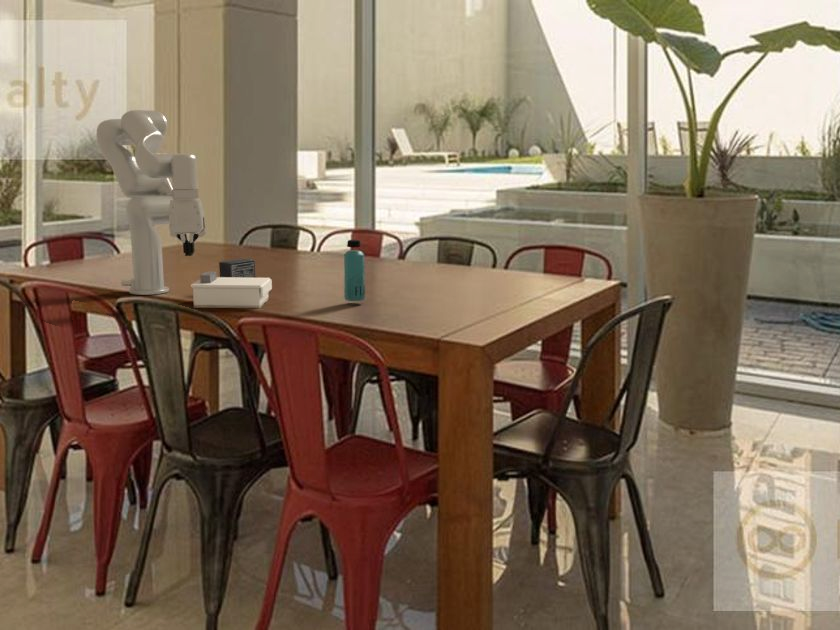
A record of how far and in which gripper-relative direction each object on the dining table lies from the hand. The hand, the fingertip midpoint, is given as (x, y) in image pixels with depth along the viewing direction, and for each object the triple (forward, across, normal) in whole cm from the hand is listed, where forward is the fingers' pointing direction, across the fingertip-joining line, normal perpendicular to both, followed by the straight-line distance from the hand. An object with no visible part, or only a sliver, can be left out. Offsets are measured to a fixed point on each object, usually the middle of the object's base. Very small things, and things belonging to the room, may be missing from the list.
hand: (189, 255), depth 273 cm
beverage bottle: (+16, +50, +2) cm, 53 cm away
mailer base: (+15, +12, +1) cm, 20 cm away
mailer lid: (+12, +13, +1) cm, 17 cm away
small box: (+15, +9, +23) cm, 29 cm away
